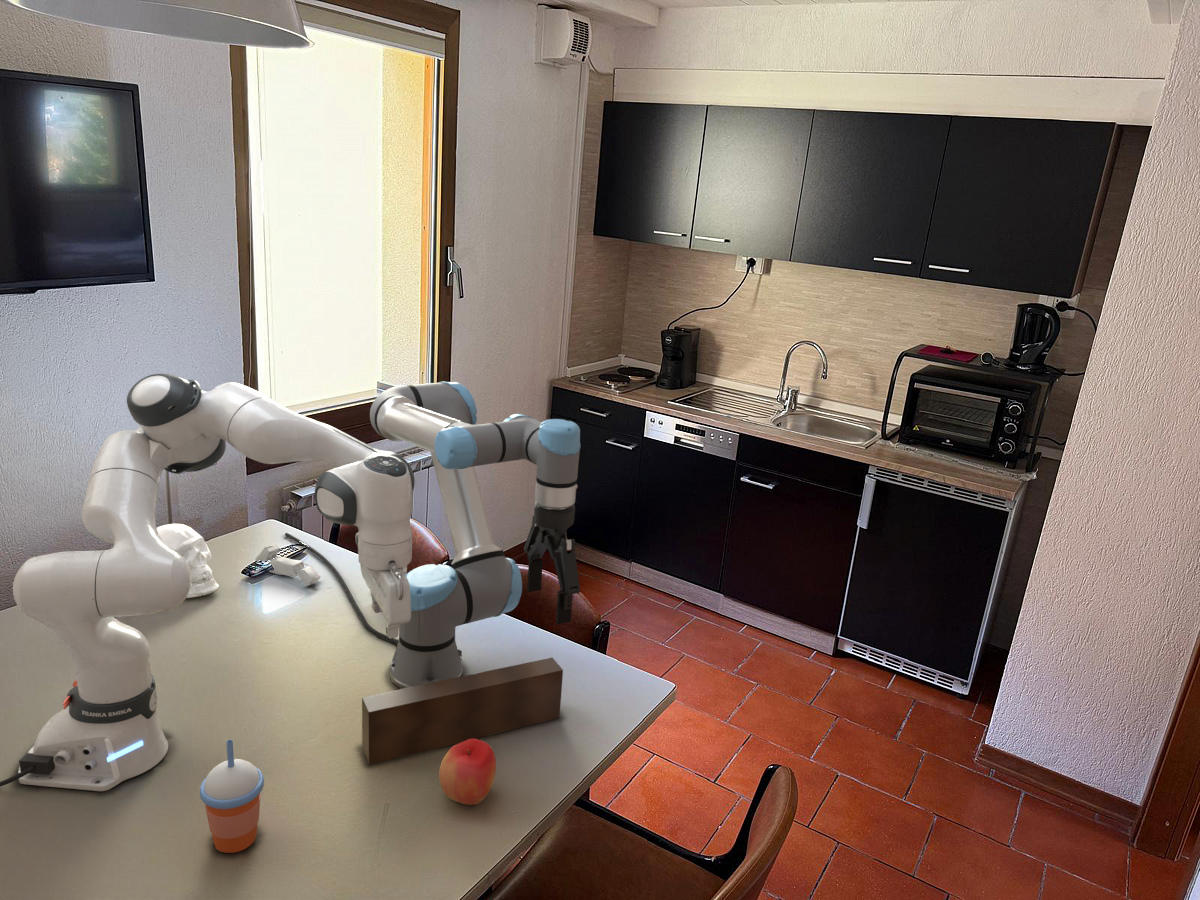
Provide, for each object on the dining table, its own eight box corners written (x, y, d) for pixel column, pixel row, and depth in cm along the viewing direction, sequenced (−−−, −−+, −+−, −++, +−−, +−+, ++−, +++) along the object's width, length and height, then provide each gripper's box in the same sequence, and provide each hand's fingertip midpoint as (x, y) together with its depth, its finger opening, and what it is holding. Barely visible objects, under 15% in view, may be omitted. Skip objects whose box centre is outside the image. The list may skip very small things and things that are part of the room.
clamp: (253, 565, 223) (254, 542, 221) (265, 560, 226) (266, 537, 224) (309, 593, 215) (310, 569, 213) (320, 588, 218) (321, 564, 216)
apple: (467, 772, 153) (469, 724, 150) (507, 796, 148) (509, 747, 145) (427, 800, 146) (428, 750, 143) (467, 826, 140) (469, 775, 137)
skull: (198, 607, 201) (195, 544, 197) (123, 588, 207) (119, 527, 203) (237, 585, 214) (235, 526, 209) (165, 569, 219) (162, 511, 215)
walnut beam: (368, 765, 153) (368, 712, 150) (362, 748, 157) (361, 697, 154) (559, 718, 171) (563, 669, 168) (549, 704, 175) (552, 657, 172)
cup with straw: (244, 866, 129) (238, 766, 124) (190, 853, 130) (182, 754, 125) (278, 825, 137) (274, 729, 132) (227, 813, 139) (221, 718, 134)
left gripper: (421, 573, 138) (420, 649, 142) (388, 526, 155) (388, 595, 159) (382, 579, 135) (382, 656, 139) (353, 530, 152) (353, 600, 156)
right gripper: (604, 525, 150) (595, 633, 156) (545, 479, 171) (539, 575, 177) (566, 531, 146) (558, 640, 153) (510, 482, 167) (505, 580, 173)
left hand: (385, 623), depth 149 cm, fingers open, 8 cm apart
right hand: (548, 606), depth 165 cm, fingers open, 13 cm apart
